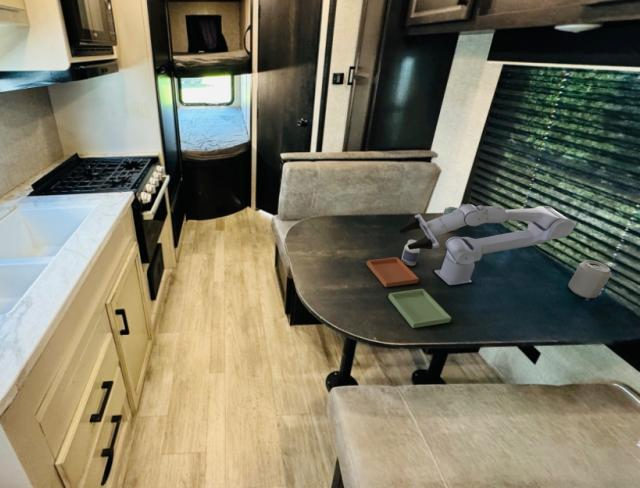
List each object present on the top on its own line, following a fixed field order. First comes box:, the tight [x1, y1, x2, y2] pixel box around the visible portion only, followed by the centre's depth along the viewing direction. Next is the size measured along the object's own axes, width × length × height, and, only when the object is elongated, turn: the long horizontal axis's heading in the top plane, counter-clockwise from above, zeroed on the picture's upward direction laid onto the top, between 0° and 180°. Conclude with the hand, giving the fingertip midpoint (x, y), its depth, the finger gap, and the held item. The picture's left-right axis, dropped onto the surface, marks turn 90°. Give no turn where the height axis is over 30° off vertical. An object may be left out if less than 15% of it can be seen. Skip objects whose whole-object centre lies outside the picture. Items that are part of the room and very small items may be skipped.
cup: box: [442, 206, 459, 232], centre depth 148 cm, size 8×8×10 cm
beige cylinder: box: [567, 259, 612, 299], centre depth 109 cm, size 8×8×12 cm
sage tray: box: [388, 288, 452, 329], centre depth 105 cm, size 13×13×2 cm
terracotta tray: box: [366, 256, 419, 288], centre depth 121 cm, size 13×13×2 cm
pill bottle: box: [400, 239, 421, 267], centre depth 126 cm, size 5×5×10 cm
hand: (403, 239), depth 116 cm, fingers open, 7 cm apart
